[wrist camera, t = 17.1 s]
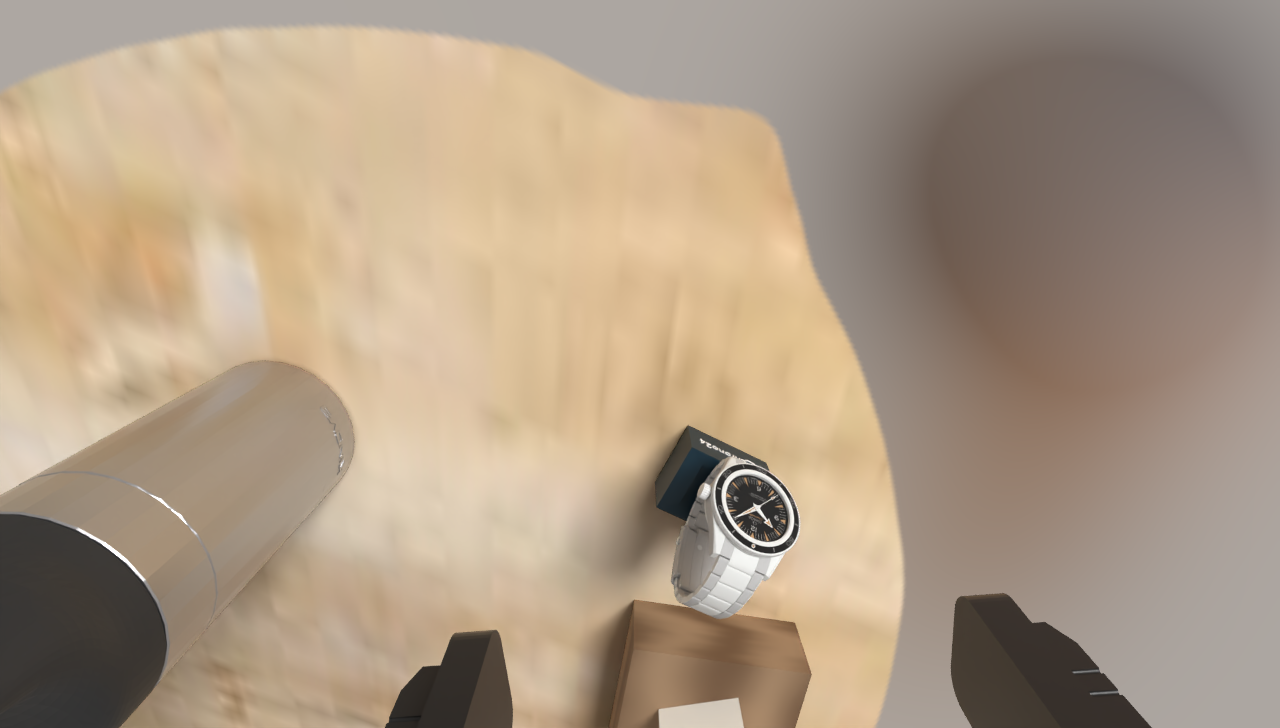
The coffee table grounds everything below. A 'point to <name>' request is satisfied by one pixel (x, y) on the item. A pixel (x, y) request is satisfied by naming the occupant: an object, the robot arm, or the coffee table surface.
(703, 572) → the watch
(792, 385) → the coffee table surface
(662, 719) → the cream block
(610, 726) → the walnut block
